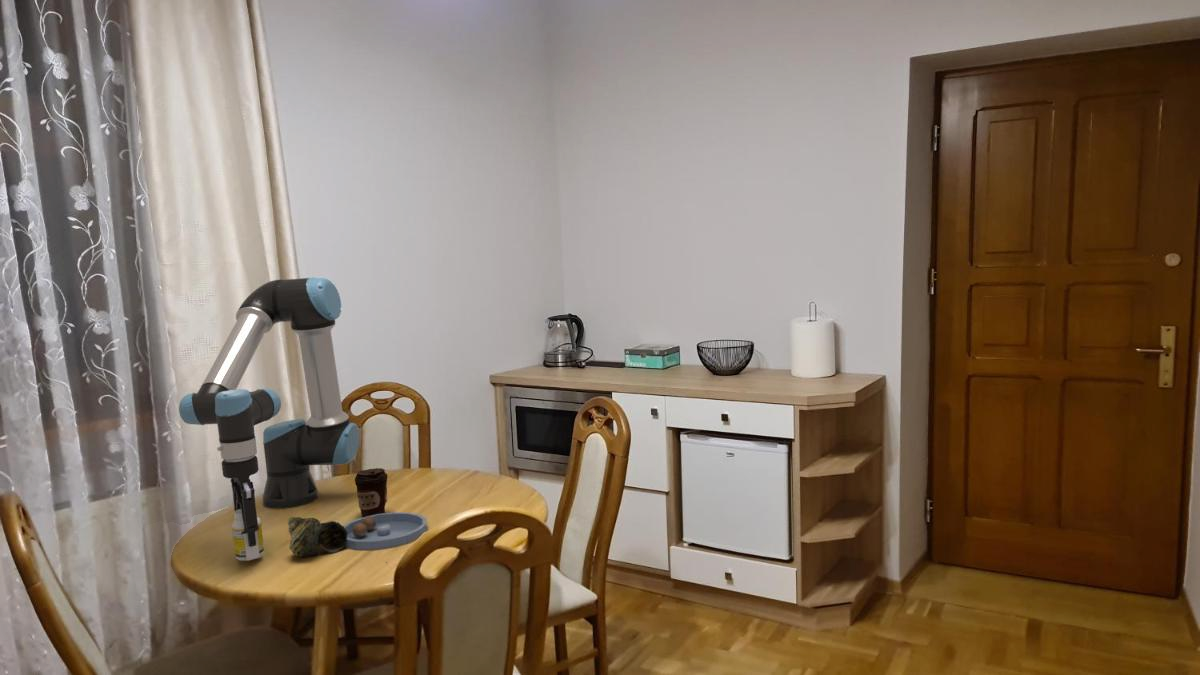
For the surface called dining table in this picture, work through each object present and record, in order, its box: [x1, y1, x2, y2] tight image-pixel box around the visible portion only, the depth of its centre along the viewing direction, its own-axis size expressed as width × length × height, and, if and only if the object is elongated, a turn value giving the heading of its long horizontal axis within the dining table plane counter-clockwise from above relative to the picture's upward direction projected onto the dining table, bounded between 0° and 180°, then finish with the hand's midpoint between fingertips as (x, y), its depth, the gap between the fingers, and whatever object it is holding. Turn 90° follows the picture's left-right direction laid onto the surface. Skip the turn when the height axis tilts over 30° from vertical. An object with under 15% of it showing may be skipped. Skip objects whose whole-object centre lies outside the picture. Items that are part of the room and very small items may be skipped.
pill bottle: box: [231, 509, 265, 562], centre depth 185 cm, size 6×6×11 cm
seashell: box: [287, 516, 347, 558], centre depth 185 cm, size 11×11×10 cm
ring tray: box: [343, 511, 428, 551], centre depth 197 cm, size 21×21×3 cm
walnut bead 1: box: [353, 523, 367, 538], centre depth 195 cm, size 4×4×4 cm
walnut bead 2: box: [362, 517, 376, 531], centre depth 200 cm, size 4×4×4 cm
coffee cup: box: [354, 467, 388, 518], centre depth 211 cm, size 9×8×13 cm
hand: (249, 554), depth 185 cm, fingers closed on pill bottle, 6 cm apart
